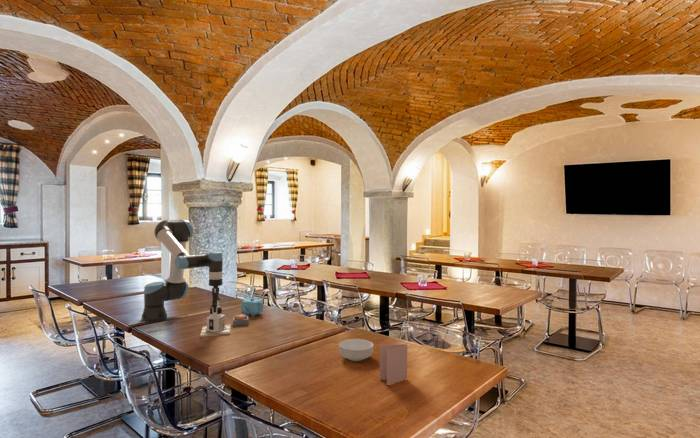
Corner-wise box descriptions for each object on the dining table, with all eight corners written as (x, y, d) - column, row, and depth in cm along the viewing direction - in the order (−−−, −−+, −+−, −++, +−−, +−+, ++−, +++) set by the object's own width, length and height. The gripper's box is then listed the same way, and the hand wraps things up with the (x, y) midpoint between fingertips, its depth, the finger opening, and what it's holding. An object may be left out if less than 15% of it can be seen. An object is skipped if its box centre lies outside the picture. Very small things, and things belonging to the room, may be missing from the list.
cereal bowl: (362, 367, 193) (362, 352, 192) (332, 360, 201) (332, 345, 201) (379, 356, 207) (379, 342, 207) (350, 350, 216) (350, 336, 215)
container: (218, 331, 243) (218, 308, 242) (206, 330, 244) (206, 308, 244) (225, 327, 250) (225, 305, 250) (213, 326, 252) (212, 305, 251)
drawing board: (202, 327, 254) (202, 325, 254) (230, 326, 258) (230, 323, 258) (200, 336, 237) (200, 334, 237) (229, 334, 241) (229, 332, 241)
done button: (235, 318, 265) (235, 314, 265) (245, 318, 267) (245, 314, 267) (235, 321, 260) (235, 317, 260) (245, 320, 261) (245, 316, 261)
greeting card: (406, 378, 180) (406, 343, 180) (409, 386, 173) (409, 349, 172) (379, 379, 180) (379, 344, 179) (381, 386, 172) (381, 350, 172)
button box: (233, 322, 267) (233, 316, 266) (248, 321, 269) (248, 315, 269) (233, 326, 258) (233, 320, 258) (248, 325, 260) (248, 319, 260)
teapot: (235, 316, 280) (235, 299, 280) (251, 310, 297) (251, 294, 297) (255, 319, 274) (255, 301, 274) (270, 312, 291) (270, 296, 291)
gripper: (221, 282, 235) (221, 320, 236) (223, 274, 259) (223, 308, 260) (207, 282, 233) (207, 320, 234) (210, 274, 257) (210, 309, 258)
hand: (215, 314), depth 247 cm, fingers open, 13 cm apart
